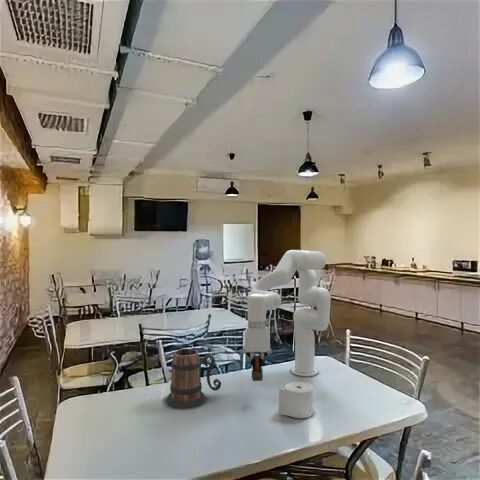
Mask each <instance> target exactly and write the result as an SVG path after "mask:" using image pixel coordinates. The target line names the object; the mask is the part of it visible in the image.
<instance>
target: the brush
mask: <svg viewBox="0 0 480 480" xmlns="http://www.w3.org/2000/svg"><path fill="white" fill-rule="evenodd" d="M253 356H254V369H253V366H251V381H252V382H262V381H263V378H264V370H263V367H262V369H260V356H261V353H260V354H259V353H253Z"/></svg>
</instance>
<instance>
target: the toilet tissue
mask: <svg viewBox="0 0 480 480" xmlns="http://www.w3.org/2000/svg"><path fill="white" fill-rule="evenodd" d="M313 399H314V387H313V385H311V384H310V383H309V382H304V381H290V382H287V383H286V384H285V386H284V389H281V388H278V414H281V415H284V416H286V417H287V416H288V417H290V418H295V419H306V418H307V419H308V418H309V417H312V415H313V412H314V411H313V408H314V406H313V404H314V400H313Z"/></svg>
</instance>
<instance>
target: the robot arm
mask: <svg viewBox="0 0 480 480" xmlns="http://www.w3.org/2000/svg"><path fill="white" fill-rule="evenodd" d="M326 263H327V256H326V255H325V253H324V252H322V251H317V250H304V249H303V250H302V249H290V250H287V251H286V252H285V253H284V254H283V256H282V257H281V259H280V260H279V262H278V263H277V265H276V267H275V268H274V269H273V271H271V272H269V273H267V274H266V275H264V276H263V277H261V278H259V280H257V281H256V282H255V283H254V285H253V287H252V288H251V290H250V291H249V294H248V296H247V326H245V330H244V345H243V348H242V349H241V353H242V354H244V355H246V356H247V357H248V358H249V359H250V367H252V366H253V369H254V353H260V369H262V368H263V367H264V359H265V358H266V357H267V356H268V355H271V354H272V353H273V349H272V347H271V345H270V334H269V333H270V331H269V327H268V326H269V325H270V321H269V320H267V311H273V310H276V309H278V308H280V306H281V304H282V297H281V295H280V294H279V293H278V292H275V291H271V289H274V288H276V287H277V288H278V287H281V286H284V285H286V284H288V283H290V282H291V280H292V278H293V277H294V275H295V273H296V272H297V273H298V294H297V300H298V303H299V304H300V305H302V306H307V307H298V308H297V309H295V310H294V312H293V315H292V320H293V326H294V366H292V368H291V373H292V374H294V375H296V376H298V377H299V376H300V377H314V376H317V374H318V369H317V368H316V367H315V351H316V350H315V349H316V348H315V347H316V345H315V343H316V342H315V341H316V339H315V338H316V337H315V334H314V331H320V332H323V331H326V330H327V329H328V328H329V324H330V314H331V304H332V303H331V293H330V291H329V290H328V289H327V288H325V287H321V286H319V287H318V286H317V274H316V272H315V271H316V270H317V271H318V270H322V269H323V268H324V267H325V266H326V265H327V264H326ZM308 307H314V308H316V309H314V308H308ZM267 325H268V326H267Z"/></svg>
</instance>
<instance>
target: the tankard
mask: <svg viewBox="0 0 480 480" xmlns="http://www.w3.org/2000/svg"><path fill="white" fill-rule="evenodd" d="M210 358H211V360H210V363H209V365H208V359H210ZM215 361H216V360H215V357H214V356H213V355H212V354H210V353H208V354H206V355H205V356H204V357H202V360H201V359H200V354H199V351H198V350H197V349H192V348H186V347H185V348H179V349H177V350H175V351H174V352H173V355H172V360H171V365H170V366H171V378H170V379H171V381H170V387H169V391H170V392H169V394H168V396H167V397H166V398H165V404H166V405H167V406H168V407H170V408H173V409H178V410H189V409H195V408H198V407H200V406H203V405H204V404H206V402H207V397H206V396H205V394H204V392H203V391H202V388H203V385H202V380H201V379H202V377H201V365H202V364H203V365H204V366H205V367H206V368H207V370H206V382H207V386H208V387H209V388H210V389H211V391H214V392H217V391H218V390H220V389H221V387H222V382H221V381H220V379H219V378H216V379H215V378H214V380H213V382H212V384H213V385H214V386H212V384H211V379H210V378H211V372H212V370H213V368H214V366H215Z"/></svg>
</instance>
